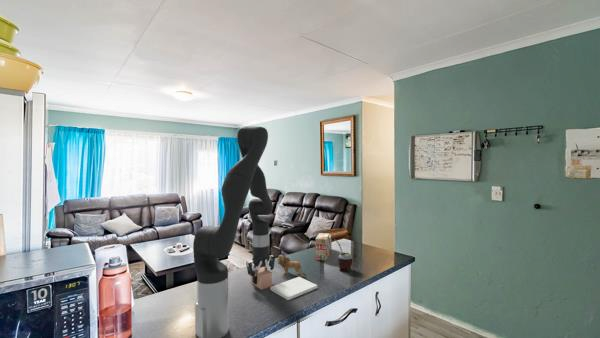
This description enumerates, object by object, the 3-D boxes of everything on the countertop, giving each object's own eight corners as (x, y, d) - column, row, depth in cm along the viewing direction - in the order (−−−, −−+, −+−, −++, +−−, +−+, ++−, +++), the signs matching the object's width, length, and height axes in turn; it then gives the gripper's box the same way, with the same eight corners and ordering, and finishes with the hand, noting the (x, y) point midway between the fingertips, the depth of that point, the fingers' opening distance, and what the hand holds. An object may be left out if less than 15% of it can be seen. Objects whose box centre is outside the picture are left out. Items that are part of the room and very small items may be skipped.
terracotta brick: (261, 289, 113) (261, 275, 113) (250, 282, 120) (250, 269, 120) (272, 286, 117) (271, 272, 116) (261, 279, 123) (261, 266, 123)
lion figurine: (275, 274, 129) (275, 256, 129) (279, 270, 134) (279, 252, 134) (304, 278, 124) (304, 259, 124) (307, 274, 129) (307, 255, 129)
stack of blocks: (321, 248, 170) (321, 229, 169) (331, 249, 168) (331, 229, 168) (315, 260, 149) (315, 238, 149) (326, 261, 147) (326, 238, 147)
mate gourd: (355, 272, 131) (354, 241, 131) (340, 273, 129) (340, 243, 129) (348, 266, 139) (348, 237, 138) (334, 268, 136) (333, 239, 136)
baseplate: (288, 300, 104) (288, 297, 104) (270, 289, 113) (270, 287, 113) (317, 288, 114) (317, 285, 114) (299, 279, 123) (299, 276, 123)
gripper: (251, 249, 111) (251, 289, 111) (279, 242, 120) (279, 280, 120) (242, 245, 116) (242, 284, 116) (269, 239, 126) (269, 275, 126)
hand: (261, 281), depth 118 cm, fingers closed on terracotta brick, 5 cm apart
